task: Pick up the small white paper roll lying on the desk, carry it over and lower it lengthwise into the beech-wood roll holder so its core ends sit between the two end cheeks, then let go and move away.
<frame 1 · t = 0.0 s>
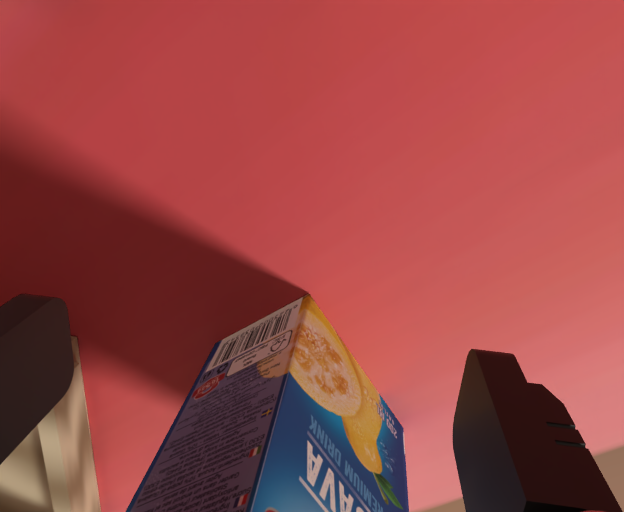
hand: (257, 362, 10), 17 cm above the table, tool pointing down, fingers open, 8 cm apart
beverage box: (311, 383, 31), on the table
roll holder: (21, 430, 36), on the table
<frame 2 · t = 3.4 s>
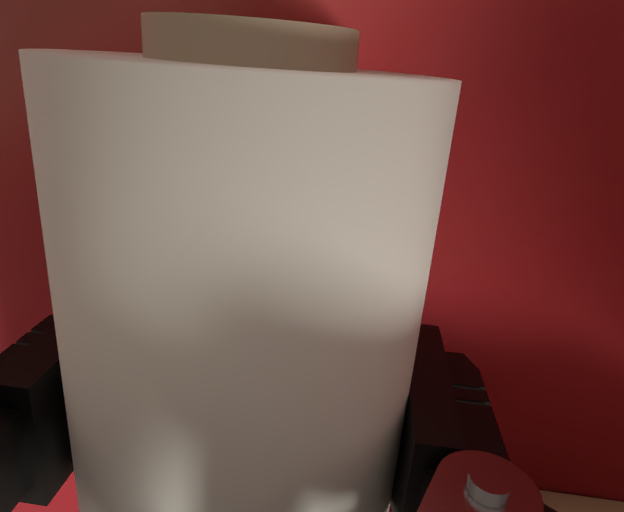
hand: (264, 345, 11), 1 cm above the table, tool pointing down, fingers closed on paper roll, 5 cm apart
paper roll: (268, 323, 11), on the table, touching gripper
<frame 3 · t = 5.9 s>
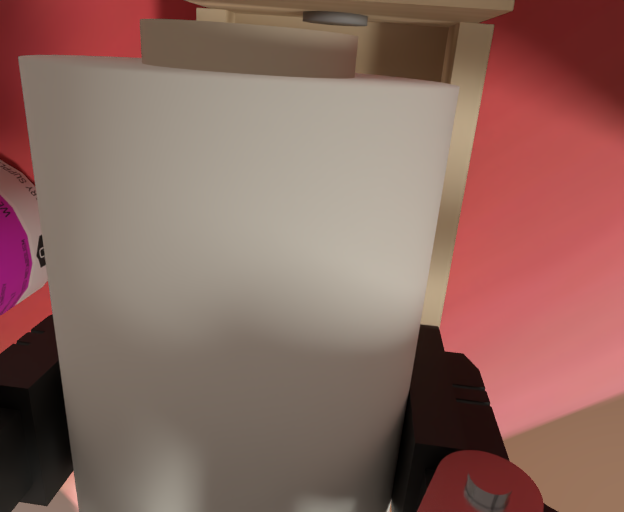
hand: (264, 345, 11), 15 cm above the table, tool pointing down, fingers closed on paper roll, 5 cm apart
roll holder: (328, 184, 25), on the table
paper roll: (268, 326, 11), point 14 cm above the table, touching gripper
when the fingers open (4 cm above the table, at t = 8.3 s): paper roll drops 3 cm, resting on roll holder.
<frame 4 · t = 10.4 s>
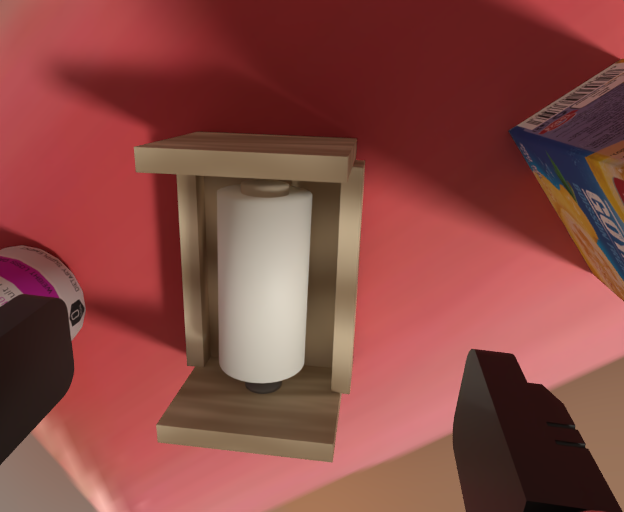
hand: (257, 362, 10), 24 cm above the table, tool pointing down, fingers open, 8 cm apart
beverage box: (604, 173, 30), on the table
roll holder: (275, 261, 35), on the table
paper roll: (271, 265, 34), point 1 cm above the table, touching roll holder
supplement can: (40, 293, 38), on the table
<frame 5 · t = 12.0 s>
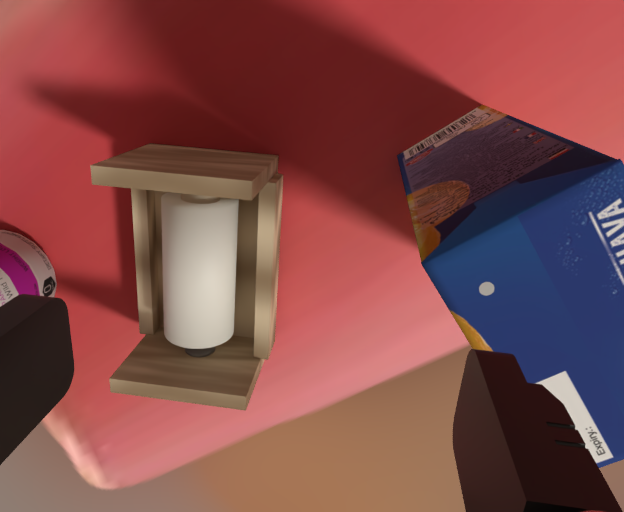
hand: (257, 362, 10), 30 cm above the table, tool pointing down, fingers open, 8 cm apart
beverage box: (472, 192, 38), on the table
roll holder: (213, 250, 42), on the table
paper roll: (209, 254, 42), point 1 cm above the table, touching roll holder
supplement can: (18, 270, 46), on the table
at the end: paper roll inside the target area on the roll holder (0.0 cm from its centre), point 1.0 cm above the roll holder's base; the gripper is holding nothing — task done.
